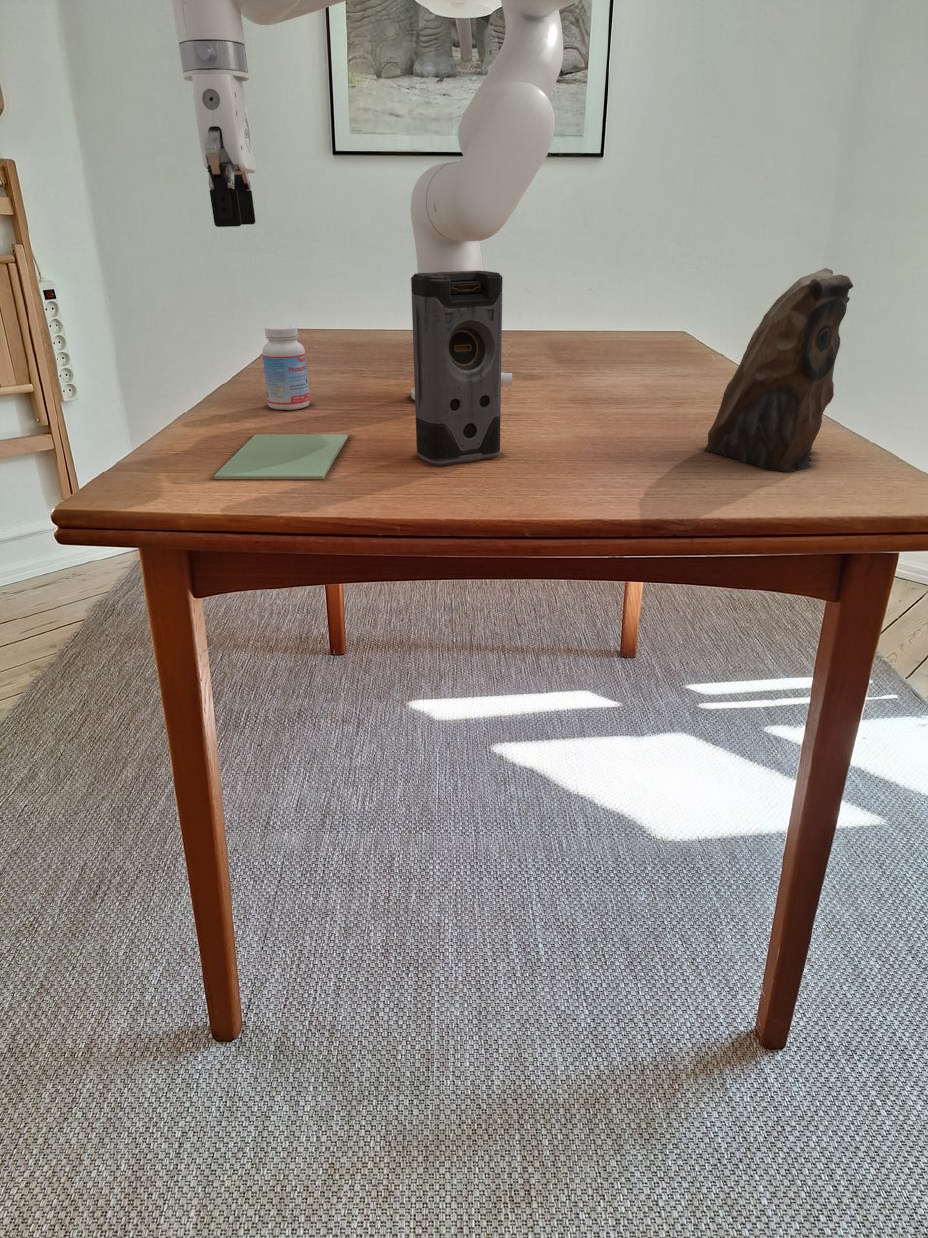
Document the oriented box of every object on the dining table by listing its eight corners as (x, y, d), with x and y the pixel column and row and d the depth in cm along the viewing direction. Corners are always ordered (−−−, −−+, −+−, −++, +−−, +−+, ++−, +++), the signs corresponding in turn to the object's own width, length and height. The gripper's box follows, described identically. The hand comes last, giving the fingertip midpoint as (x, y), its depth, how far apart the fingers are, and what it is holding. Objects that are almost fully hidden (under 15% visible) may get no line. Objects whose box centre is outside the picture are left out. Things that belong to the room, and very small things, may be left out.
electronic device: (433, 468, 92) (429, 276, 83) (412, 455, 96) (405, 273, 87) (505, 457, 95) (508, 273, 86) (481, 445, 100) (481, 269, 91)
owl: (789, 439, 102) (820, 265, 92) (861, 467, 91) (903, 273, 82) (700, 448, 98) (723, 269, 89) (763, 478, 88) (796, 277, 78)
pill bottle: (301, 411, 117) (292, 329, 112) (261, 410, 119) (252, 329, 113) (316, 402, 123) (309, 324, 118) (278, 401, 124) (269, 323, 119)
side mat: (348, 437, 104) (347, 434, 104) (323, 479, 88) (322, 475, 88) (255, 437, 105) (255, 434, 104) (213, 479, 89) (213, 475, 88)
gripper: (231, 52, 88) (253, 226, 96) (259, 74, 104) (276, 223, 112) (162, 53, 88) (189, 228, 96) (199, 75, 103) (221, 224, 111)
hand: (236, 225), depth 104 cm, fingers open, 9 cm apart
